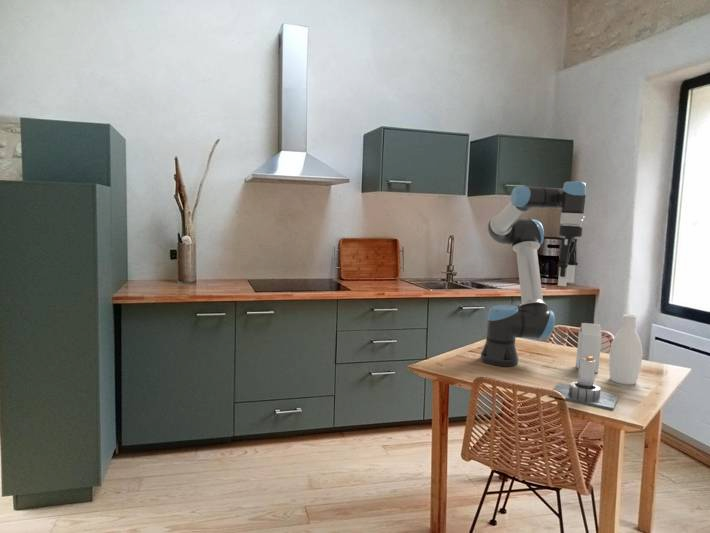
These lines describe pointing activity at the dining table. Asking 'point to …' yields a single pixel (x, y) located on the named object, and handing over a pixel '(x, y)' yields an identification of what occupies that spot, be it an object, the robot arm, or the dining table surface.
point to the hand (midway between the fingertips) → (565, 284)
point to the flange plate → (600, 402)
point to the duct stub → (586, 373)
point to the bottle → (626, 353)
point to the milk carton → (589, 343)
